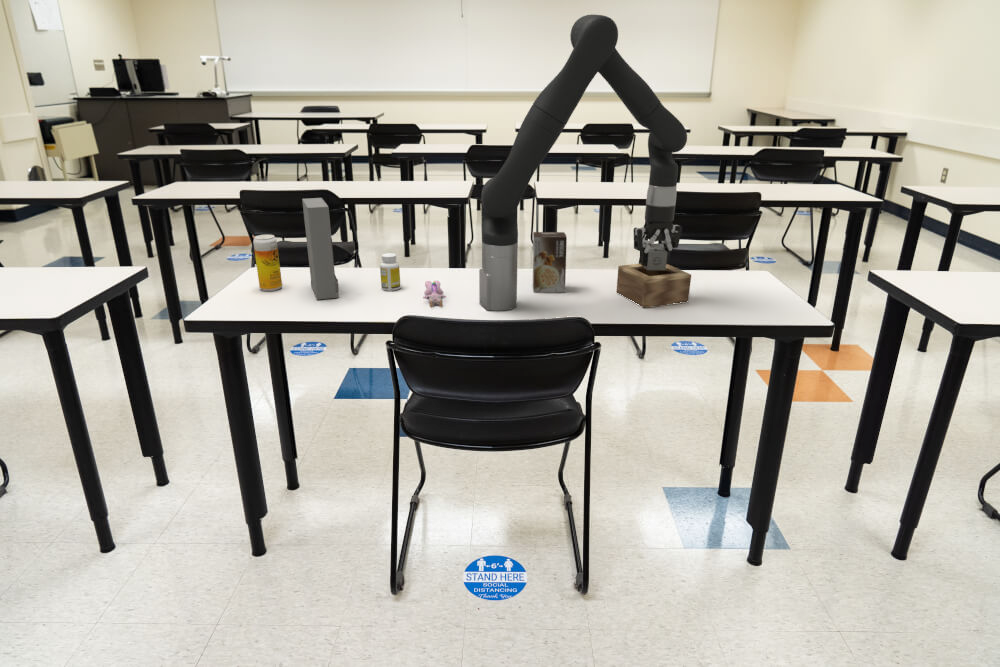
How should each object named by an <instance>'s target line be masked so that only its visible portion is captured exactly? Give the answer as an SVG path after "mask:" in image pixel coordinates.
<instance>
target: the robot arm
mask: <svg viewBox="0 0 1000 667" xmlns="http://www.w3.org/2000/svg"><path fill="white" fill-rule="evenodd" d="M569 36H570V43H571V46H572V48H573V49H572V50H571V53H570V55H569V56H568V58H567V61H566V62H565V64H564V66H563V67H562V68H561V70H560V71H559V72H558V74H557V75H556V76H555V77H554V78H553V79H552V80H551V81H550V82H549V83H548V84H547V85H546V86H545V87H544V88H543V90H542V91H541V92H540V93H539V95H537V97H536V99H535V100H534V101H533V103H532V105H531V107H530V108H529V110H528V111H527V113H526V115H525V116H524V119H523V121H522V122H521V124H520V127H519V129H518V131H517V134H516V137H515V140H514V142H513V144H512V147H511V150H510V153H509V154H508V156H507V158H506V160H505V162H503V163H504V164H503V165H502V166H501V168H500V169H499V171H498V172H497V174H496V175H495V176H493V177H491V178H489V179H488V180H487V181H486V182H485V183H484V185H483V187H482V190H481V197H480V198H481V199H480V202H481V203H480V204H481V205H480V206H481V208H480V209H481V212H480V213H481V223H480V224H481V268H479V270H478V272H479V277H478V278H479V280H478V281H479V284H478V285H479V289H478V290H479V292H478V293H479V300H478V301H479V302H478V303H479V304H480V305H481V306H482V307H483V309H485V310H486V311H509V310H512V309H514V308H515V309H516V307H517V306H518V305H517V302H518V297H517V296H518V251H519V250H518V248H519V247H518V245H519V244H518V243H519V230H518V229H519V226H518V207H519V205H520V203H521V200H522V198H523V196H524V194H525V191H526V190H527V187H528V186H529V184H530V181H531V179H532V177H533V176H534V174H535V173H536V171H537V169H538V168H539V167H540V165H541V164H542V163H543V161H544V159H545V158H546V157H547V155H548V154H549V152H550V151H551V149H552V148H553V147H554V145H555V144H556V142H557V140H558V139H559V137H560V135H561V134H562V132H563V130H564V129H565V127H566V126H567V124H568V122H569V120H570V118H571V116H572V114H573V113H574V111H575V110H576V108H577V106H578V104H580V103H579V102H580V101H581V100H582V97H583V95H584V93H585V92H586V90H587V88H588V87H589V85H590V84H591V82H592V81H593V79H594V78H595V76H596V75H597V74H600V76H601V77H602V78H603V79H604V80H605V81H606V82H607V84H608V85H609V86H610V87H611V89H612V90H613V92H614V93H615V94H616V95H617V97H618V99H620V101H621V102H622V104H623V105H624V107H626V109H627V110H628V111H629V113H630V114H631V115H632V117H633V118H634V119H635V121H636V122H637V123H638V124H639V125H640V126H641V127H643V128H646V129H647V130H649V134H648V138H647V148H648V158H649V159H648V160H649V165H650V171H649V178H648V179H649V180H648V188H647V192H646V200H645V212H644V220H645V221H644V222H645V223H644V225H643V227H637V226H635V227H634V228H633V229H632V230H633V249H634V250H637V251H639V264H641V265H642V266H647V260H648V253H647V252H648V251H649V249H650V247H652V246H653V245H654V243H655V242H661V244H662V248H664V249H665V250H666V251H667V261H666V264H669V262H670V260H671V255H672V254H671V253H672V250H673V249H678V248H679V243H680V239H681V236H682V231H683V226H681V225H680V224H679V225H678V224H676V223H675V224H673V221H674V220H675V211H676V202H677V193H678V192H677V188H678V187H677V183H678V176H679V165H678V163H676V162H675V161H674V159H673V153H678V152H680V151H682V150H683V149H684V147H686V144H687V142H688V133H687V130H686V128H685V126H684V125H683V123H682V122H681V121H680V120H679V119H678V118H677V117H676V116H675V114H673V113H672V112H671V111H670V110H668V109H667V108H666V107H665V106H664V105H663V103H662V102H661V100H660V99H659V97H658V96H657V95H656V94H655V92H654V91H653V89H652V88H651V87H650V85H649V84H648V83H647V82H646V81H645V79H643V78H642V77H641V76H640V74H638V73H637V71H635V70H634V69H633V68H632V67H631V66H630V65H629V64H628V62H626V60H625V59H624V58H623V57H622V55H621V54H620V53H619V51H618V49H617V48H616V46H617V43H618V41H619V29H618V26H617V24H616V22H615V21H614V20H613V19H612V18H611V17H608V16H606V15H603V14H586V15H583V16H580V17H579V18H578V19H577V20H576V21H575V22H574V23H573V25H572V27H571V30H570V35H569ZM670 234H671V235H670ZM643 236H644V237H643Z"/></svg>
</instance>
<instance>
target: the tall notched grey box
mask: <svg viewBox="0 0 1000 667" xmlns="http://www.w3.org/2000/svg"><path fill="white" fill-rule="evenodd" d="M301 200H302V202H301V203H302V208H303V210H302V211H303V220H304V228H305V239H306V247H307V248H306V249H307V256H308V265H309V274H310V276H309V277H310V286H311V288H312V290H313V294H314V296H315V298H316V300H317V301H320V300H325V299H326V300H327V299H337V298H340V288H339V279H338V278H337V276H336V272H335V258H334V249H333V248H334V247H333V246H334V245H333V239H332V230H331V219H330V208H329V205H328V204H327V203H326V201H325V200H324V198H323V197H315V198H314V197H313V198H302V199H301Z"/></svg>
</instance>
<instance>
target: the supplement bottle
mask: <svg viewBox="0 0 1000 667" xmlns="http://www.w3.org/2000/svg"><path fill="white" fill-rule="evenodd" d="M381 260H382V262H380V264H379V271H380V272H379V273H380V285H381V289H382V290H383V291H389V292H391V291H393V292H394V291H397V290H400V289H401V273H400V272H401V271H400V270H401V269H400V264H399V262H398V261H397V254H396V253H392V252H390V253H387V252H386V253H383V254H382V255H381Z"/></svg>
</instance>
